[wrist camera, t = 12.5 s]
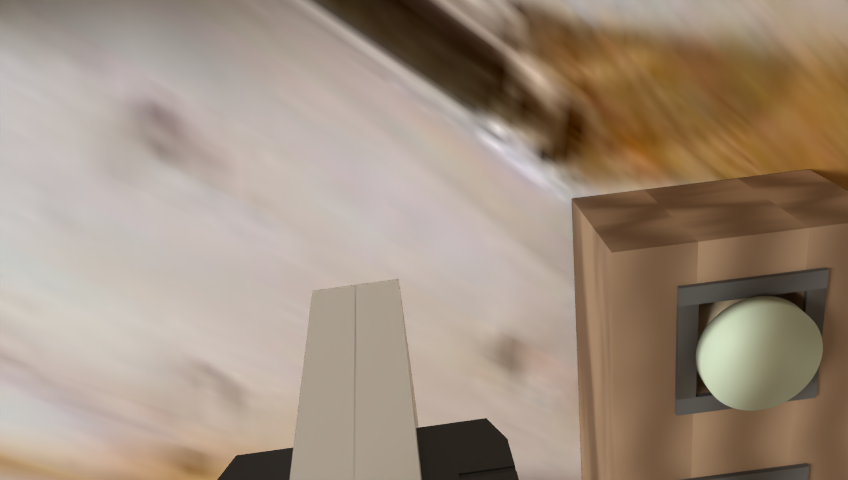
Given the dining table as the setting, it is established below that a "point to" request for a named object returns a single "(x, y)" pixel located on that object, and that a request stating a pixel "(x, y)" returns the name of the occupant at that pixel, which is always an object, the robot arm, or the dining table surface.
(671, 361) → the socket block
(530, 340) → the dining table surface
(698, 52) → the dining table surface
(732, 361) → the peg
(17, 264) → the dining table surface
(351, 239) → the dining table surface
